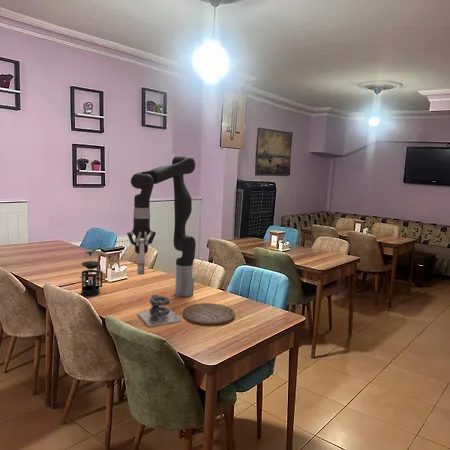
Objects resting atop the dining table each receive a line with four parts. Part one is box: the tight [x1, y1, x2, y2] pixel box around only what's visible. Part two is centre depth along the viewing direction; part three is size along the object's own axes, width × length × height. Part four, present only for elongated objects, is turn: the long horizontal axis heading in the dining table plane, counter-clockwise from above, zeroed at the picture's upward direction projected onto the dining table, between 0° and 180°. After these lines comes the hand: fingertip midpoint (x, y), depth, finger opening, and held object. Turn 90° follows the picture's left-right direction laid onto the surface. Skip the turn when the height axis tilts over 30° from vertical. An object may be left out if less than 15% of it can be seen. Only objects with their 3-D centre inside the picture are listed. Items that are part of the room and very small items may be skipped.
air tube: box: [137, 239, 146, 276], centre depth 193 cm, size 3×3×16 cm
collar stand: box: [136, 294, 183, 328], centre depth 190 cm, size 16×16×9 cm
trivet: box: [182, 302, 236, 327], centre depth 197 cm, size 25×25×2 cm
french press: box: [80, 251, 103, 298], centre depth 218 cm, size 12×9×23 cm
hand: (141, 252), depth 193 cm, fingers closed on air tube, 3 cm apart
